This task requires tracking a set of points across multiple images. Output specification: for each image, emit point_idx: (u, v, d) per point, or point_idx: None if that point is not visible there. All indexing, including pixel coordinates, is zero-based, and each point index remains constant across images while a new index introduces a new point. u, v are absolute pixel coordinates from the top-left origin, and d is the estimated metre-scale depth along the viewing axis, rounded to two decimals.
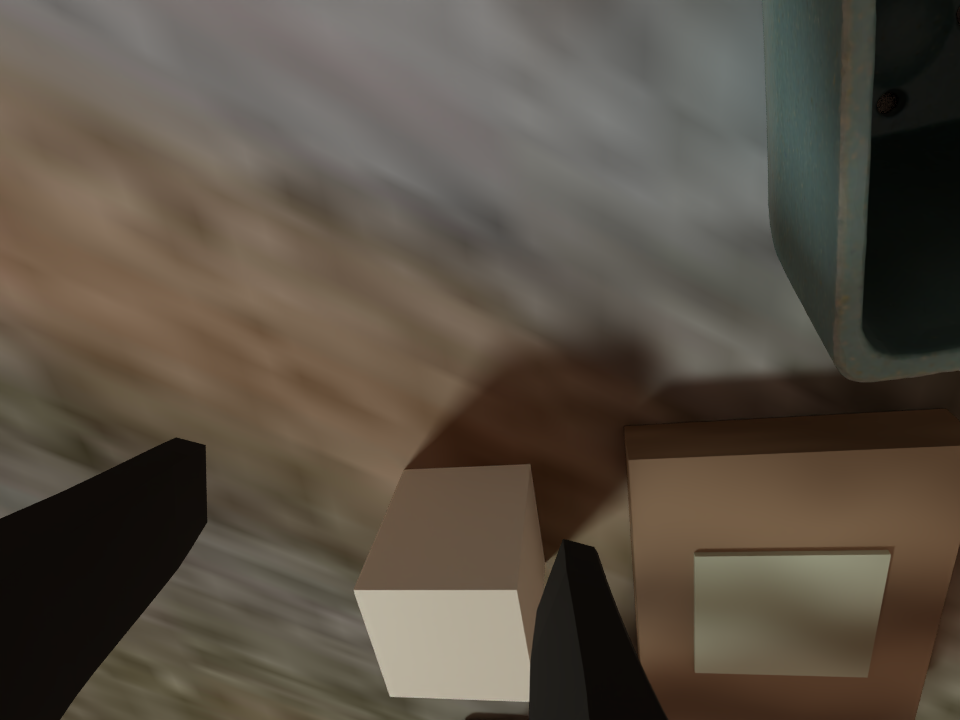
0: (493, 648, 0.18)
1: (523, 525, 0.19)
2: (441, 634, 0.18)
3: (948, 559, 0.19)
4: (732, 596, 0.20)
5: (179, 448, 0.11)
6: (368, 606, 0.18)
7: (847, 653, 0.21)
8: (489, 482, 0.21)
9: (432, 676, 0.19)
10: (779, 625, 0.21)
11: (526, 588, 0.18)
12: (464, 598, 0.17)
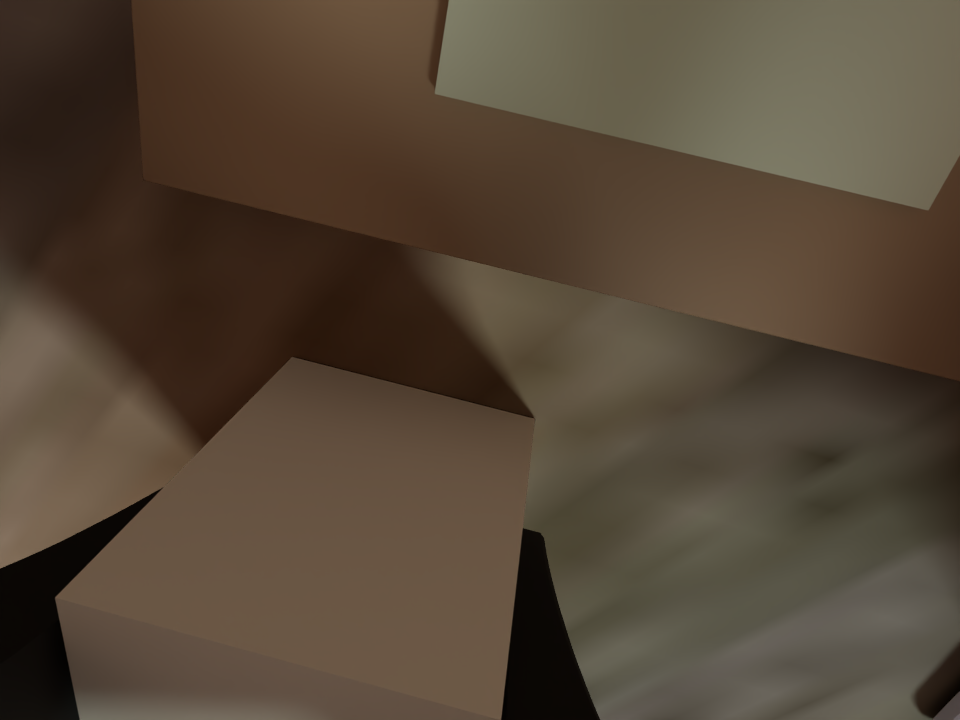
0: (270, 714, 0.07)
1: (198, 455, 0.09)
2: None
3: None
4: (619, 10, 0.06)
5: None
6: None
7: None
8: None
9: None
10: None
11: (248, 540, 0.08)
12: (100, 693, 0.07)
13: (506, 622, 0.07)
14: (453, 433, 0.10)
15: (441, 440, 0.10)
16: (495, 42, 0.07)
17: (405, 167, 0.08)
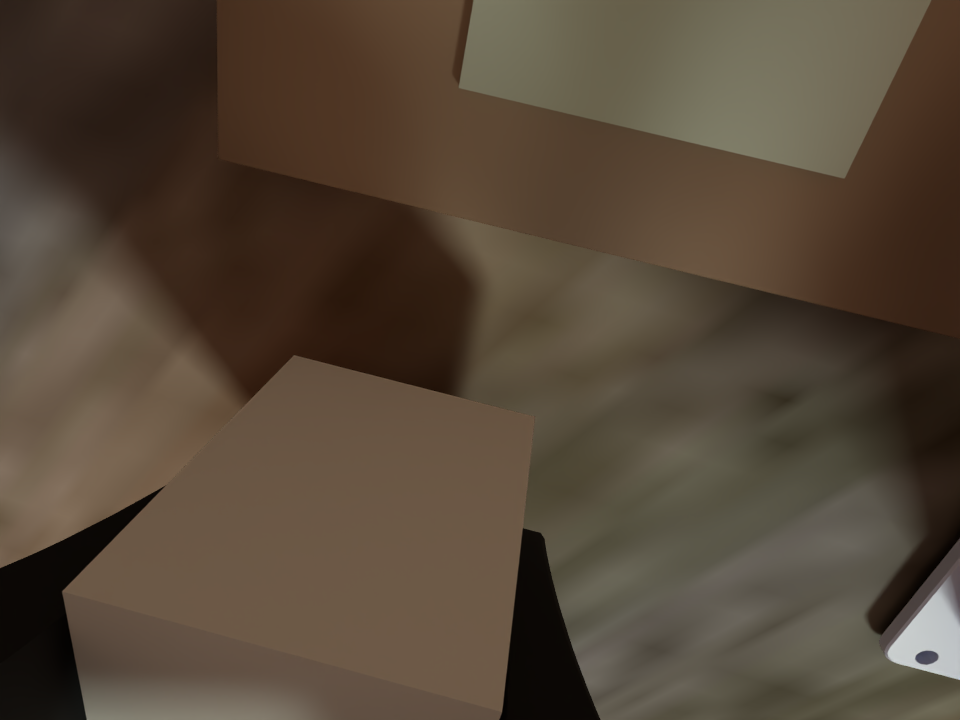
0: (274, 707, 0.07)
1: (201, 452, 0.09)
2: None
3: None
4: (603, 23, 0.08)
5: None
6: None
7: None
8: None
9: None
10: None
11: (252, 535, 0.08)
12: (106, 687, 0.07)
13: (507, 616, 0.07)
14: (454, 431, 0.11)
15: (442, 437, 0.10)
16: (507, 47, 0.09)
17: (433, 147, 0.10)
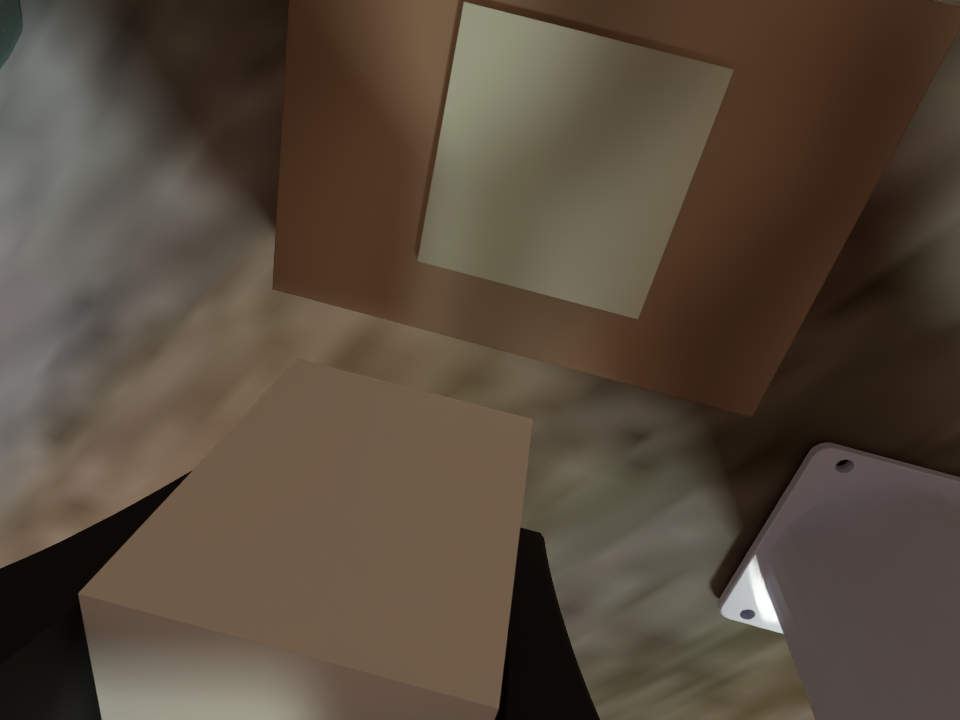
0: (281, 703, 0.07)
1: (208, 456, 0.09)
2: None
3: None
4: (497, 233, 0.15)
5: None
6: None
7: (663, 95, 0.13)
8: None
9: None
10: (571, 184, 0.14)
11: (258, 538, 0.08)
12: (119, 684, 0.07)
13: (504, 615, 0.08)
14: (453, 433, 0.11)
15: (442, 440, 0.11)
16: (444, 242, 0.15)
17: (403, 289, 0.16)
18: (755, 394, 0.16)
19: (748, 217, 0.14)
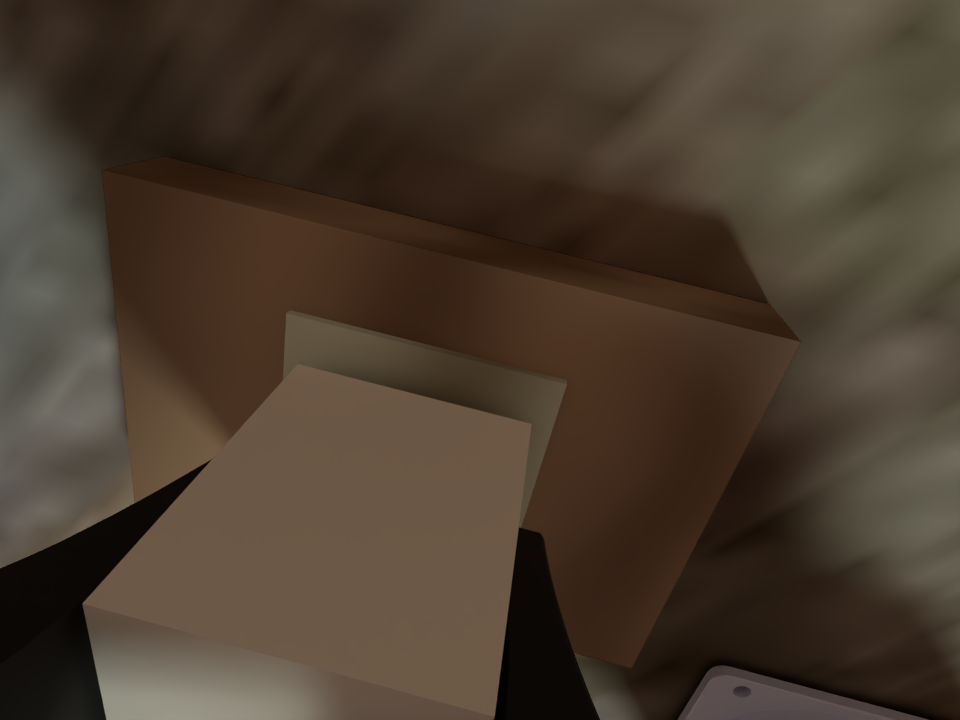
0: (282, 709, 0.07)
1: (210, 464, 0.09)
2: None
3: (316, 233, 0.11)
4: None
5: None
6: None
7: (498, 401, 0.12)
8: None
9: None
10: None
11: (259, 547, 0.08)
12: (125, 689, 0.08)
13: (501, 623, 0.08)
14: (453, 439, 0.11)
15: (441, 446, 0.11)
16: None
17: None
18: (632, 650, 0.15)
19: (602, 503, 0.13)
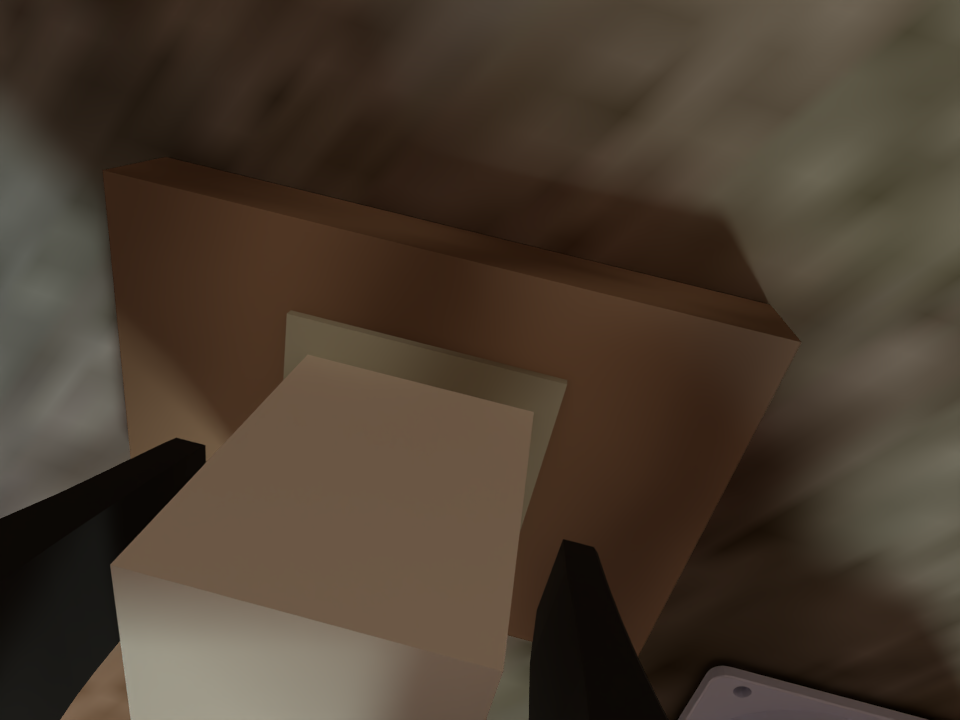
0: (298, 670, 0.08)
1: (226, 443, 0.10)
2: None
3: (316, 233, 0.11)
4: None
5: (179, 448, 0.11)
6: None
7: (499, 401, 0.12)
8: None
9: None
10: None
11: (276, 518, 0.08)
12: (146, 653, 0.08)
13: (507, 590, 0.08)
14: (458, 425, 0.11)
15: (447, 431, 0.11)
16: None
17: None
18: None
19: (602, 503, 0.13)
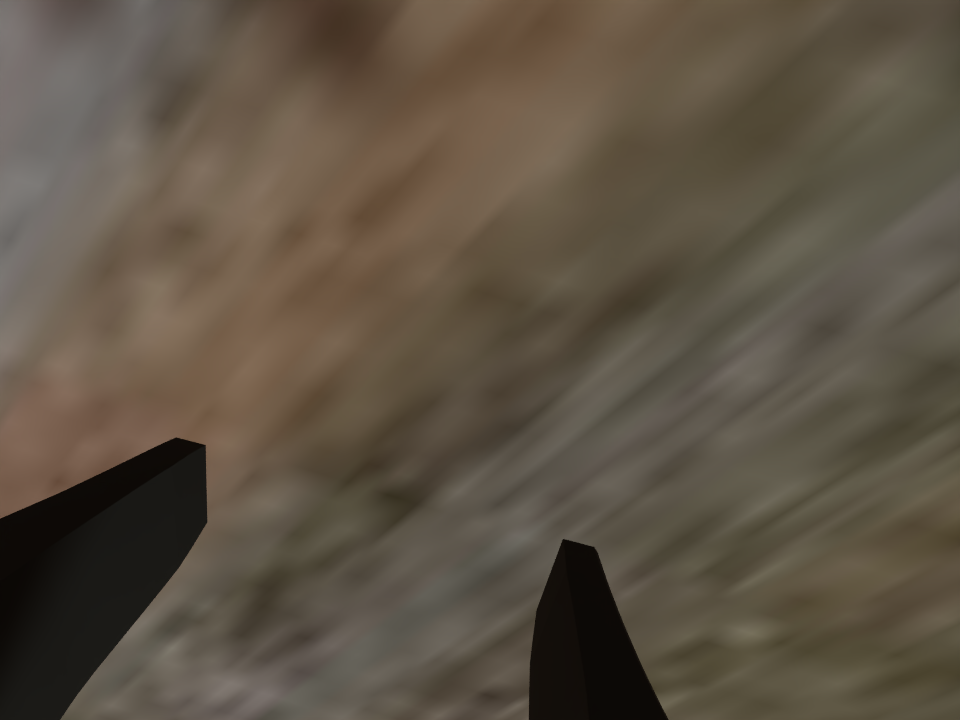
0: None
1: None
2: None
3: None
4: None
5: (179, 448, 0.11)
6: None
7: None
8: None
9: None
10: None
11: None
12: None
13: None
14: None
15: None
16: None
17: None
18: None
19: None
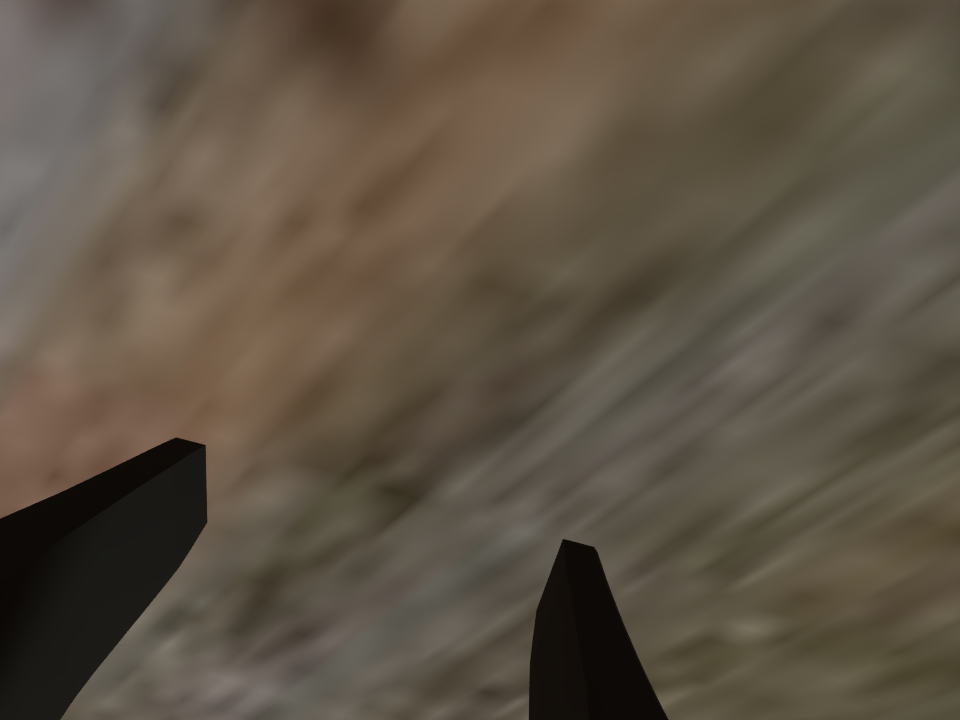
0: None
1: None
2: None
3: None
4: None
5: (179, 448, 0.11)
6: None
7: None
8: None
9: None
10: None
11: None
12: None
13: None
14: None
15: None
16: None
17: None
18: None
19: None
